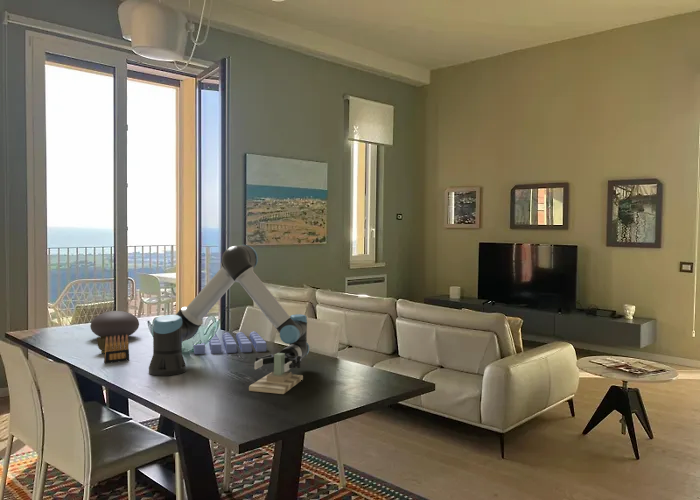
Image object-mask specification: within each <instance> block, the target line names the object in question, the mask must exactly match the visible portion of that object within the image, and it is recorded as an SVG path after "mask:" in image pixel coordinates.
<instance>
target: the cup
mask: <svg viewBox="0 0 700 500" xmlns="http://www.w3.org/2000/svg"><path fill="white" fill-rule="evenodd" d="M106 337H107V336H106ZM106 337H105V336H103V337H102V336H101V337H99V336H97V337H96V343H97V348H98V349H99V351H100V353H101V354H102V353H105V341H106ZM111 337H112V344H113V340H114V339H113V338H114V337H113V336H111ZM109 340H110V337H108V344H109Z"/></svg>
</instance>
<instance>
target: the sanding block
mask: <svg viewBox="0 0 700 500" xmlns="http://www.w3.org/2000/svg"><path fill="white" fill-rule="evenodd" d="M273 355H274V363H273V371H271V372H272V373H271V372H270V373H271V374H270V373H268V374H269V375H268V374H266V375H267V381H273V382H285V381H286V380H288V379H289V378H290V377H291V374H292V371H287V372H284V365H285V353H280V352H277V353H274V354H273Z"/></svg>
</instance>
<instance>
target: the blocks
mask: <svg viewBox="0 0 700 500" xmlns="http://www.w3.org/2000/svg"><path fill="white" fill-rule="evenodd" d="M235 338H236V340H235V339H234V337H233V336H232V334H231V333H230V332H227V331H226V332H224V333H223V334H222V336H221V339H222V342H223V345H224V350H225V352H226V353H227V354H230V353H231V354H232V353H233V354H234V353H237V351H238V350H237V348H238V347H239V349H240V352H241V353H252V346H253V348H254V349H255V352H258V353H259V352H267V341H266V340H264V338H263V337H262V336H261V335H260V334H259V333H258V332H256V331H251V332H250V333H249V337H248V336H247V335H246V334H245V333H244V332H242V331H239V332H237V333H236V335H235ZM236 341H237V342H236ZM208 342H209V349H210V354H222V342H221V340H220V338H219V337H218V335H217V333H215V336H214V337H213V338H212V339H211V340H210V341H209V340H208ZM237 344H238V345H237ZM193 353H194V355H203V354H206V344H205V342H204V343H201V344H197V345H194V344H193Z"/></svg>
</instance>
